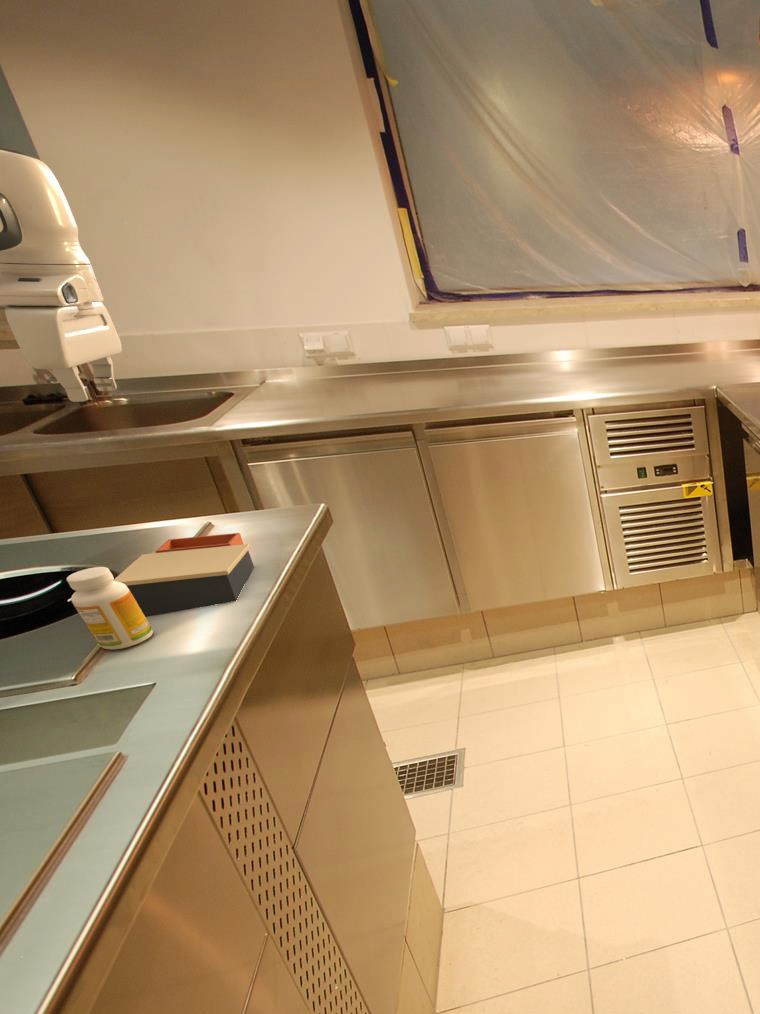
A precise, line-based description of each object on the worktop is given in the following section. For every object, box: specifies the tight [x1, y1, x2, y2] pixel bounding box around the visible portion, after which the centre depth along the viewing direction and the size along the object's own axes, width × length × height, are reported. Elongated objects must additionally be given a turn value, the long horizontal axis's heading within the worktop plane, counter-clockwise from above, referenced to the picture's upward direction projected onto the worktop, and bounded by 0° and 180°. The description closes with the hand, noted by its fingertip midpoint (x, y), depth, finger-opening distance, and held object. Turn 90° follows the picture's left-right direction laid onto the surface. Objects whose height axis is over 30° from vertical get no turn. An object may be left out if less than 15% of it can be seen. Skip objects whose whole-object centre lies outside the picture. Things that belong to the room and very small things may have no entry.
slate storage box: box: [113, 543, 255, 618], centre depth 121 cm, size 13×13×6 cm
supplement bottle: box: [66, 566, 154, 650], centre depth 107 cm, size 5×5×10 cm
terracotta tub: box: [155, 532, 244, 553], centre depth 131 cm, size 9×6×5 cm, turn 116°
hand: (95, 395), depth 116 cm, fingers open, 8 cm apart
